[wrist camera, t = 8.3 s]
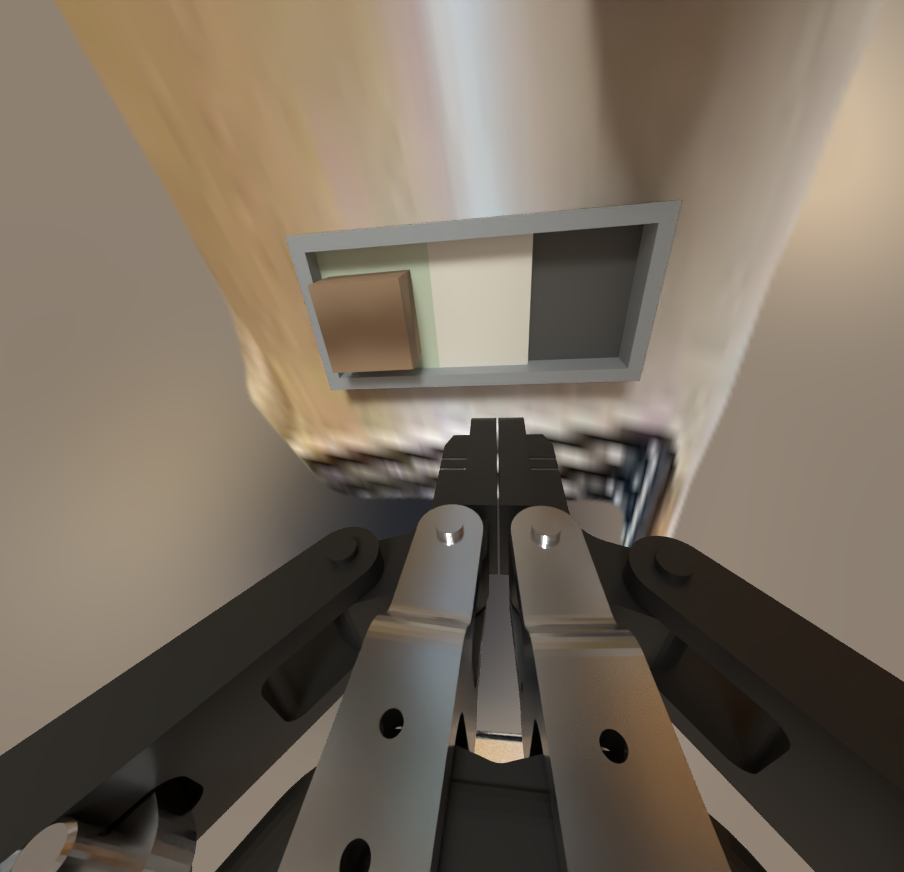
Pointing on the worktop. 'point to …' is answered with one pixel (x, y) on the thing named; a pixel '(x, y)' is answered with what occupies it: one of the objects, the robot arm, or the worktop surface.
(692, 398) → the worktop surface
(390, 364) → the block
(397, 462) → the worktop surface
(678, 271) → the worktop surface
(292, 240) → the tray
